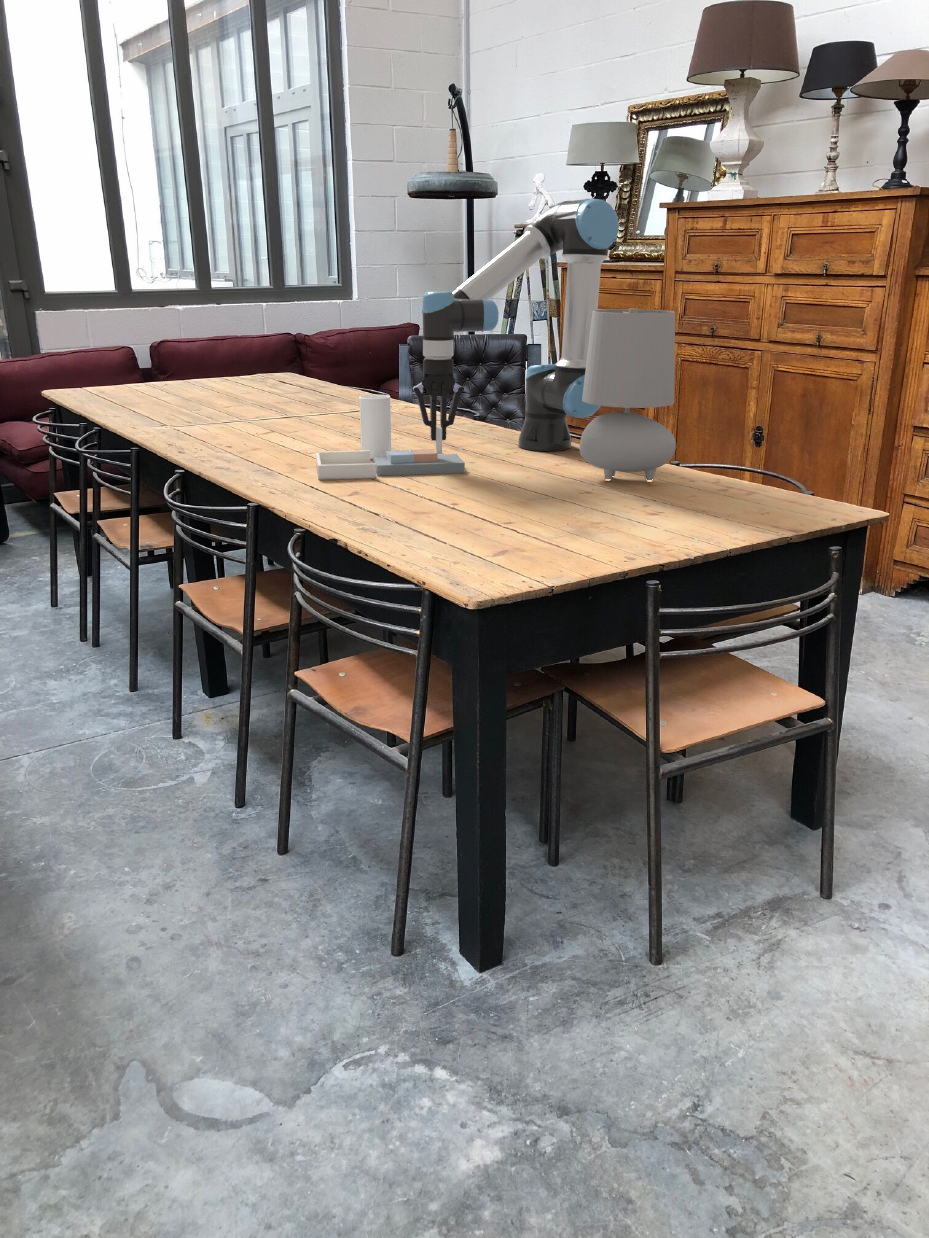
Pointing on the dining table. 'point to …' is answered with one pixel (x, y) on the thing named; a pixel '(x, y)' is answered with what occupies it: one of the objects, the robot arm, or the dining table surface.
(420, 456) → the terracotta tile
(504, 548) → the dining table surface
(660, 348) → the table lamp
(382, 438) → the cup
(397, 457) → the blue tile
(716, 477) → the dining table surface
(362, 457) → the box
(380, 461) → the board
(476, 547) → the dining table surface
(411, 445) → the dining table surface
